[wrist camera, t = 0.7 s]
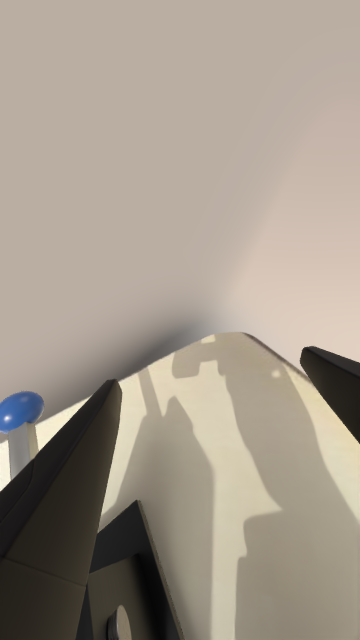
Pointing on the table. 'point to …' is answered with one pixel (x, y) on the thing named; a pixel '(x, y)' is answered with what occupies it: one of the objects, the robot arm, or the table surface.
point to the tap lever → (21, 427)
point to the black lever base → (127, 585)
